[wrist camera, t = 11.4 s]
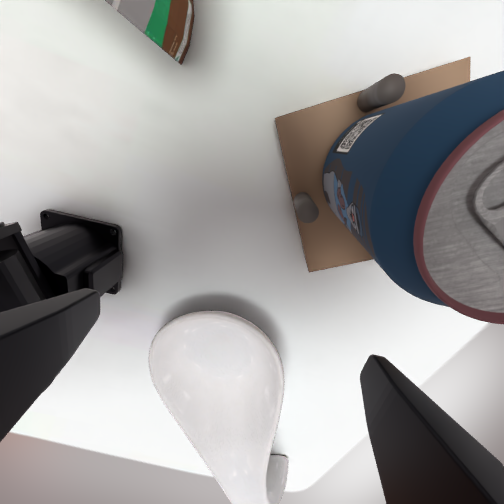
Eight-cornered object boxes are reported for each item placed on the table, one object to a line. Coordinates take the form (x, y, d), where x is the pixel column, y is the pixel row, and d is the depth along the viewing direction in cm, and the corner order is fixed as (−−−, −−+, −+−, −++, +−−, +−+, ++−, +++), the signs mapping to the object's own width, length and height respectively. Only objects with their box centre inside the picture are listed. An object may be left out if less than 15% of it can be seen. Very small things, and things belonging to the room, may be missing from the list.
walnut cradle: (306, 264, 21) (315, 296, 17) (275, 120, 18) (275, 111, 13) (453, 233, 20) (508, 260, 15) (453, 64, 16) (526, 30, 11)
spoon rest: (144, 307, 25) (96, 366, 18) (262, 279, 23) (257, 334, 16) (226, 462, 33) (214, 542, 26) (320, 452, 31) (332, 537, 24)
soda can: (454, 166, 16) (819, 208, 5) (367, 243, 19) (498, 382, 8) (380, 85, 15) (658, -76, 4) (296, 178, 18) (332, 235, 7)
